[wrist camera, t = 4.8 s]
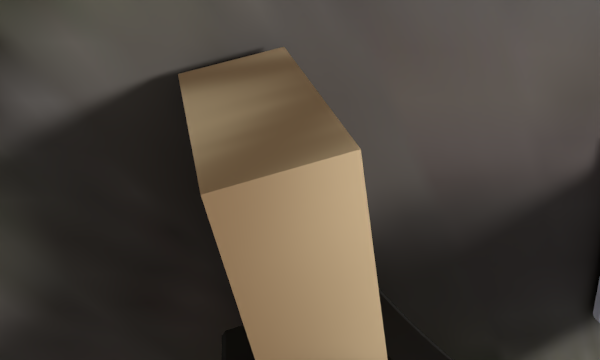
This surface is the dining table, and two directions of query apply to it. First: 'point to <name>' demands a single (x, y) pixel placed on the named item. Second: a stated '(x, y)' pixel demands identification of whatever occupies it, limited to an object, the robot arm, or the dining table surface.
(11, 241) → the dining table surface
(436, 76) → the dining table surface
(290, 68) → the blade batten
